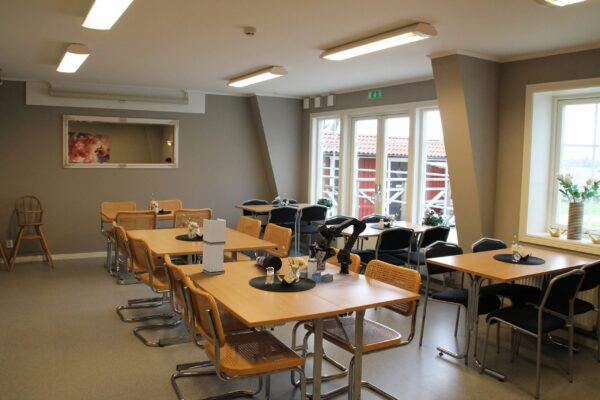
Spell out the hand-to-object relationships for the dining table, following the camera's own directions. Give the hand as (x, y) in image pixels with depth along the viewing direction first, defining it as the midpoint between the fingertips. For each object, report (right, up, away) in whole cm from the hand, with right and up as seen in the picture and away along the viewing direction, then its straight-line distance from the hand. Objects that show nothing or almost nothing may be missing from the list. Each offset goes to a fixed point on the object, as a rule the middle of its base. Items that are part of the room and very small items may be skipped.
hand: (316, 260), depth 328 cm
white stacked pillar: (-67, -9, +8) cm, 69 cm away
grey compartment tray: (0, -12, -5) cm, 13 cm away
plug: (-3, -11, -3) cm, 12 cm away
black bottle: (-35, -9, +28) cm, 46 cm away
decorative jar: (+1, -9, +36) cm, 37 cm away
